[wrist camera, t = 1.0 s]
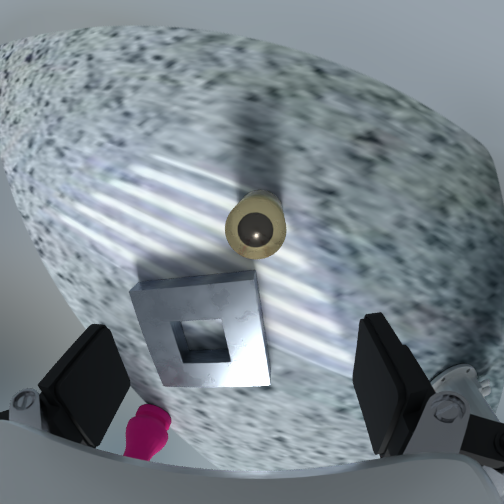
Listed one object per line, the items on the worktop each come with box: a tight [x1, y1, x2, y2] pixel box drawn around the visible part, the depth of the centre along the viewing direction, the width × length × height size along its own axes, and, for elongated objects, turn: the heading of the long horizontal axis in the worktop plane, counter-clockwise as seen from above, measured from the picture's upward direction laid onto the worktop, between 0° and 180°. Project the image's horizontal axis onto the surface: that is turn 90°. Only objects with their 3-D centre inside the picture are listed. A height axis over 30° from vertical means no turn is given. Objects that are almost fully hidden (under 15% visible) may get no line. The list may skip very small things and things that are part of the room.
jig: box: [129, 270, 271, 387], centre depth 35 cm, size 15×15×3 cm
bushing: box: [225, 190, 286, 259], centre depth 27 cm, size 5×5×9 cm
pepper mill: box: [123, 404, 171, 461], centre depth 33 cm, size 7×7×20 cm
